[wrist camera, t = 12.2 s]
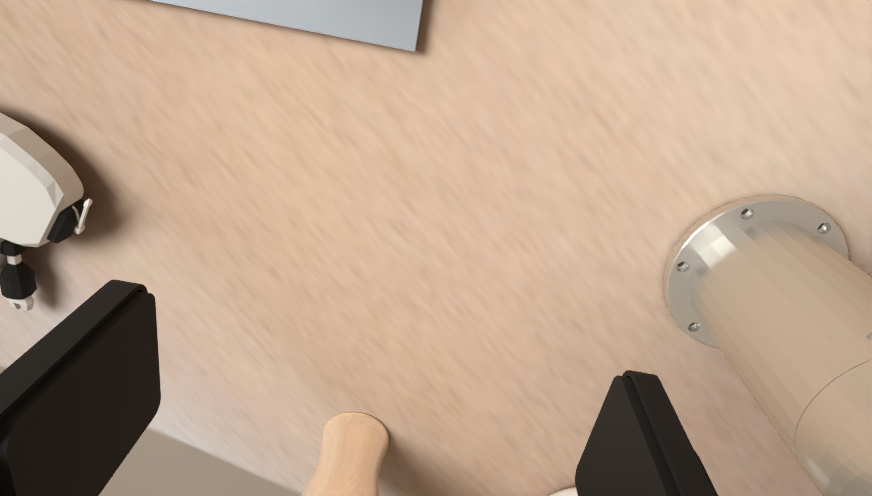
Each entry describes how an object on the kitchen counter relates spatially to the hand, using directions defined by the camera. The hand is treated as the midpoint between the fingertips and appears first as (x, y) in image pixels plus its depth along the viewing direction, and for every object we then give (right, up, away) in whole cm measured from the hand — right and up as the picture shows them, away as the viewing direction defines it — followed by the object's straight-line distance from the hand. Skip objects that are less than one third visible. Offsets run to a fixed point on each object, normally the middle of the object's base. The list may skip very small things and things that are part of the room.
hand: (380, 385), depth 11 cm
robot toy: (-31, +7, +30) cm, 44 cm away
